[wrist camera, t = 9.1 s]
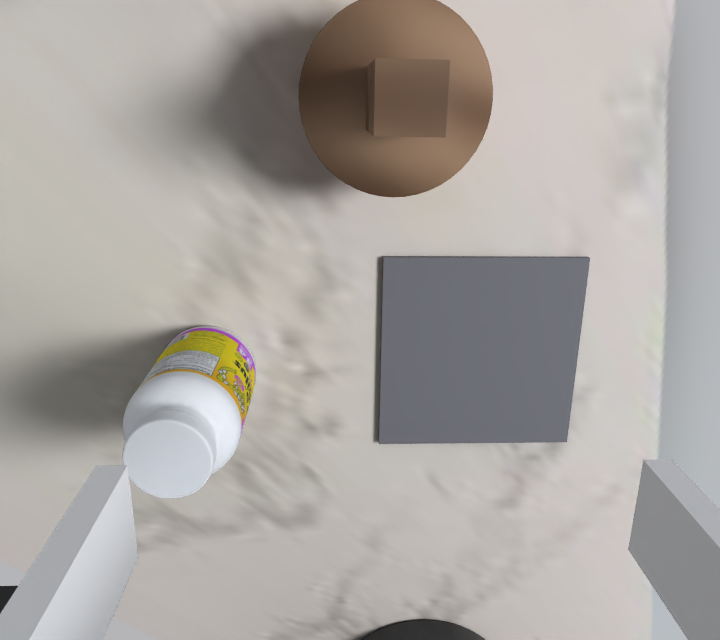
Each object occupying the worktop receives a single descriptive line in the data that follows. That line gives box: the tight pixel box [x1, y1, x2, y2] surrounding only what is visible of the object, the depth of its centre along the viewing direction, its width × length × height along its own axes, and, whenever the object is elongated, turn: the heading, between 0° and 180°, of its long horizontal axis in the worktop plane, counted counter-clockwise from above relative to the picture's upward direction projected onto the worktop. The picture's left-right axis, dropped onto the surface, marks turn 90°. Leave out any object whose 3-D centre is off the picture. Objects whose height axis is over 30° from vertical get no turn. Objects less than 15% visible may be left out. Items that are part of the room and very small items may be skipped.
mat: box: [379, 256, 590, 444], centre depth 46 cm, size 14×14×1 cm
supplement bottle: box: [122, 326, 256, 499], centre depth 40 cm, size 7×7×13 cm
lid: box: [299, 0, 493, 197], centre depth 32 cm, size 10×10×8 cm
